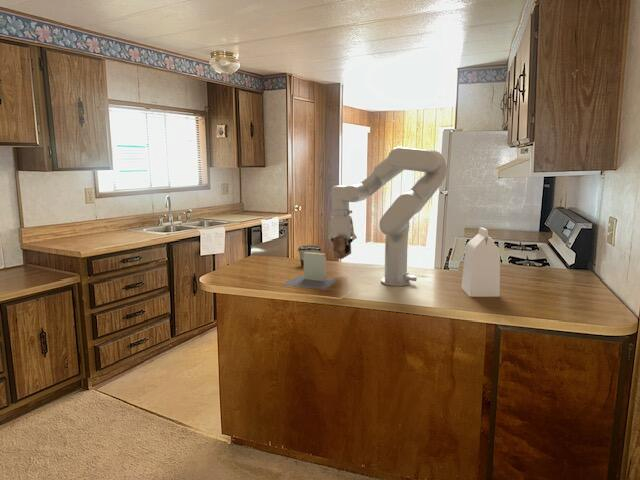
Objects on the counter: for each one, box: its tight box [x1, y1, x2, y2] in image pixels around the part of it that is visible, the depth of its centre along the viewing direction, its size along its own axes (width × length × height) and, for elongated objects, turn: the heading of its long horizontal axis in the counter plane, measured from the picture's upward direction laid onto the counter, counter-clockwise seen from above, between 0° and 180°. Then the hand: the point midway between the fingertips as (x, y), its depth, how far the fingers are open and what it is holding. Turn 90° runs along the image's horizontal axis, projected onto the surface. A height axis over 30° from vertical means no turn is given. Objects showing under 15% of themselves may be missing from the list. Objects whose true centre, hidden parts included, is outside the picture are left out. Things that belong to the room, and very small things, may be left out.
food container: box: [297, 244, 323, 268], centre depth 230 cm, size 12×6×10 cm, turn 84°
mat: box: [282, 274, 340, 291], centre depth 198 cm, size 20×17×1 cm
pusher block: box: [332, 237, 352, 260], centre depth 205 cm, size 4×12×9 cm, turn 156°
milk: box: [461, 227, 501, 298], centre depth 180 cm, size 12×12×26 cm
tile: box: [303, 252, 327, 281], centre depth 200 cm, size 10×2×12 cm, turn 67°
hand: (342, 252), depth 206 cm, fingers closed on pusher block, 4 cm apart
